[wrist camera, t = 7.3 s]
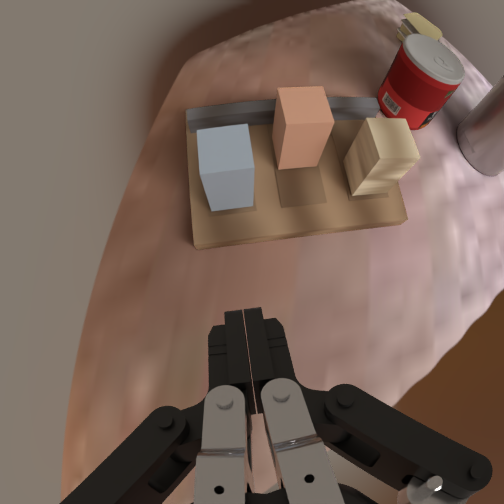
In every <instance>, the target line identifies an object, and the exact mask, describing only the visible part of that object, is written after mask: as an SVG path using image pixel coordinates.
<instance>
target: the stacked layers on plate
mask: <svg viewBox="0 0 504 504" xmlns="http://www.w3.org/2000/svg"><path fill="white" fill-rule="evenodd" d="M403 15H404V16H405V17H406V18H407V19H402V20H401V22H402V25H401V27H400V28H397V30H398V31H399V32H398V34H397V36H396V37H397V38H398V39H400V40H401V41H402V42H403V41H404V39H405V38H406V37H407V36H408V35H410V34H422V35H426V36H428V37H431V38H433V39H435V40H437V41H439V38H440V37H441V36H442V32H441V31H440V30H439V29H438V28H437V27H435V26H434V25H433V24H432V23H430V22H429V21H428V20H426V19H425V18H423V17H422V16H420V15H419V14H418V13H409V14H403Z"/></svg>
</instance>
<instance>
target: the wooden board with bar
mask: <svg viewBox="0 0 504 504" xmlns="http://www.w3.org/2000/svg"><path fill="white" fill-rule="evenodd" d="M327 100H328V103H329V106H330V109H331V112H332V116H333V119H334V125H333V127H332V130H331V132H330V135H329V137H328V140H327V142H326V145H325V147H324V150H323V152H322V155H321V157H320V159H319V162H318V164H317V166H315V167H303V168H291V169H281V170H278V166H277V161H276V155H275V150H274V145H273V140H272V132H273V123H274V115H275V106H276V99H272V100H259V101H248V102H238V103H229V104H221V105H213V106H206V107H199V108H192V109H187V110H185V114H186V138H187V157H188V174H189V189H190V203H191V216H192V228H193V239H194V246H195V247H196V249H197V250H201V249H209V248H217V247H224V246H232V245H240V244H248V243H256V242H264V241H272V240H279V239H287V238H295V237H304V236H312V235H320V234H328V233H336V232H344V231H353V230H361V229H369V228H378V227H386V226H395V225H401V224H402V223H404V222H405V221H406V220H408V217H407V213H406V209H405V206H404V202H403V198H402V195H401V191H400V188H399V184H398V182H397V183H396V184H395V185H394V186H393V187H392V188H391V189H390V190H389V191H388V192H387V193H380V194H368V195H356V196H352V194H351V190H350V186H349V182H348V178H347V174H346V170H345V167H344V163H343V160H344V158H345V156H346V154H347V153H348V151H349V149H350V147H351V145H352V143H353V142H354V140H355V138H356V136H357V134H358V132H359V130H360V129H361V127H362V125H363V123H364V121H365V119H366V118H376V115H377V113H378V111H379V109H380V106H379V104H378V101H377V99H376V98H369V97H327ZM240 124H248V129H249V135H250V142H251V148H252V154H253V161H254V167H255V171H254V198H253V206H250V207H242V208H234V209H226V210H219V211H211V208H210V205H209V202H208V199H207V196H206V193H205V190H204V186H203V183H202V180H201V177H200V171H199V158H198V144H197V130H201V129H208V128H215V127H223V126H231V125H240Z"/></svg>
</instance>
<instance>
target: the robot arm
mask: <svg viewBox="0 0 504 504" xmlns="http://www.w3.org/2000/svg"><path fill="white" fill-rule="evenodd" d="M457 139H458V143H459V146H460V148H461V150H462V152H463V154H464V156H465V157H466V159H467V160H468V161H469V162H470V164H471V165H472V166H473V167H474V168H475V169H477V170H478V171H479V172H481V173H483V174H484V175H487V176H496V175H498V174H499V173H501V172H502V171H504V76H503V77H502V78H501V79H500V80H499V81H498V82H497V84H496V85H495V86H494V87H493V88H492V89H491V90H490V92H489V93H488V94H487V95H486V96H485V97H484V98H483V99H482V100H481V102H480V103H479V104H478V105H477V106H476V107H475V108H474V109H473V110H472V111H471V112H470V114H469V115H468V116H467V117H466V118H465V119H464V120H463V121H462V122H461V123H460V125H459V126H458V129H457ZM224 314H225V325H217V326H213V327H212V329H211V331H210V333H209V335H208V347H209V348H208V355H209V357H208V362H209V390H208V393H207V395H206V397H205V398H204V399H203V400H202V401H201V402H200V403H198V404H197V405H194V406H192V407H189V408H187V409H184V410H181V411H180V410H179V409H178V408H176V407H173V406H163V407H159V408H157V409H156V410H154V411H153V412H152V413H151V414H150V415H149V416H148V417H147V418H146V419H145V420H144V421H143V422H142V423H141V424H140V425H139V426H138V427H137V428H136V429H135V430H134V431H133V432H132V433H131V434H130V435H129V436H128V437H127V438H126V439H125V440H124V441H123V442H122V443H121V444H120V445H119V446H118V447H117V448H116V449H115V450H114V451H113V452H112V453H111V454H110V455H109V456H108V457H107V458H106V459H105V460H104V461H103V462H102V463H101V464H100V465H99V466H98V467H97V468H96V469H95V470H94V471H93V472H92V473H91V474H90V475H89V476H88V477H87V478H86V479H85V480H84V481H83V482H82V483H81V484H80V485H79V486H78V487H77V488H76V489H75V490H74V491H72V492H71V493H70V494H69V495H68V496H67V497H66V498H65V499H64V500H63V501H62V502H61V503H60V504H162V503H163V502H164V500H165V499H166V498H167V497H168V496H169V495H170V494H171V493H172V492H173V490H174V489H175V488H176V487H177V486H178V485H179V484H180V483H181V481H182V480H183V479H184V478H185V477H186V476H187V475H188V473H189V472H190V471H191V470H192V469H193V468H194V466H195V465H196V470H195V487H194V502H193V503H191V504H378V503H376V502H375V501H373V500H372V499H370V498H369V497H367V496H366V495H364V494H363V493H361V492H360V491H358V490H356V489H354V488H352V487H350V486H347V485H344V484H339V483H337V480H336V477H335V475H334V472H333V469H332V466H331V463H330V460H329V457H328V454H327V452H326V449H325V446H327V447H328V448H330V449H331V450H333V451H334V452H336V453H337V454H339V455H340V456H342V457H344V458H345V459H346V460H348V461H350V462H351V463H353V464H354V465H356V466H358V467H359V468H361V469H362V470H364V471H366V472H367V473H369V474H371V475H372V476H374V477H376V478H377V479H379V480H381V481H382V482H384V483H386V484H387V485H389V486H391V487H393V488H394V489H396V490H398V491H399V493H398V497H397V501H398V504H465V503H466V501H467V500H468V498H469V497H470V496H471V495H473V494H474V493H476V492H478V491H479V490H481V489H482V488H484V487H485V486H486V485H487V484H488V483H489V481H490V479H491V477H492V465H491V463H490V461H489V460H488V459H487V458H486V457H485V456H483V455H481V454H479V453H477V452H475V451H473V450H471V449H469V448H467V447H465V446H463V445H461V444H459V443H457V442H455V441H453V440H451V439H449V438H447V437H445V436H444V435H442V434H440V433H438V432H436V431H434V430H432V429H430V428H428V427H427V426H425V425H423V424H421V423H419V422H417V421H415V420H413V419H412V418H410V417H408V416H406V415H404V414H403V413H401V412H399V411H397V410H396V409H394V408H392V407H390V406H389V405H387V404H385V403H383V402H382V401H380V400H378V399H376V398H375V397H373V396H371V395H369V394H368V393H366V392H364V391H363V390H361V389H359V388H357V387H356V386H353V385H350V384H340V385H337V386H335V387H333V388H331V389H330V390H329V391H318V390H311V389H308V388H306V387H304V386H303V385H301V384H300V383H299V382H298V381H297V379H296V377H295V373H294V369H293V365H292V361H291V357H290V353H289V349H288V345H287V340H286V337H285V332H284V328H283V326H282V324H281V323H280V322H279V321H278V320H277V319H276V318H271V319H263V314H262V309H261V307H258V308H250V309H244V317H245V325H246V333H247V340H246V333H245V326H244V320H243V313H242V310H235V311H227V312H225V313H224ZM247 341H248V348H249V356H250V363H249V356H248V348H247ZM250 364H251V371H250ZM251 372H252V379H253V386H254V392H255V399H256V405H257V411H258V414H260V413H263V417H264V424H265V431H266V435H267V439H268V443H269V447H270V451H271V455H272V459H273V463H274V467H275V471H276V476H277V481H278V485H279V490H276V491H274V492H271V493H268V494H259V493H255V485H254V477H253V454H252V420H251V415H253V414H256V409H255V402H254V394H253V387H252V379H251ZM324 445H325V446H324Z"/></svg>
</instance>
